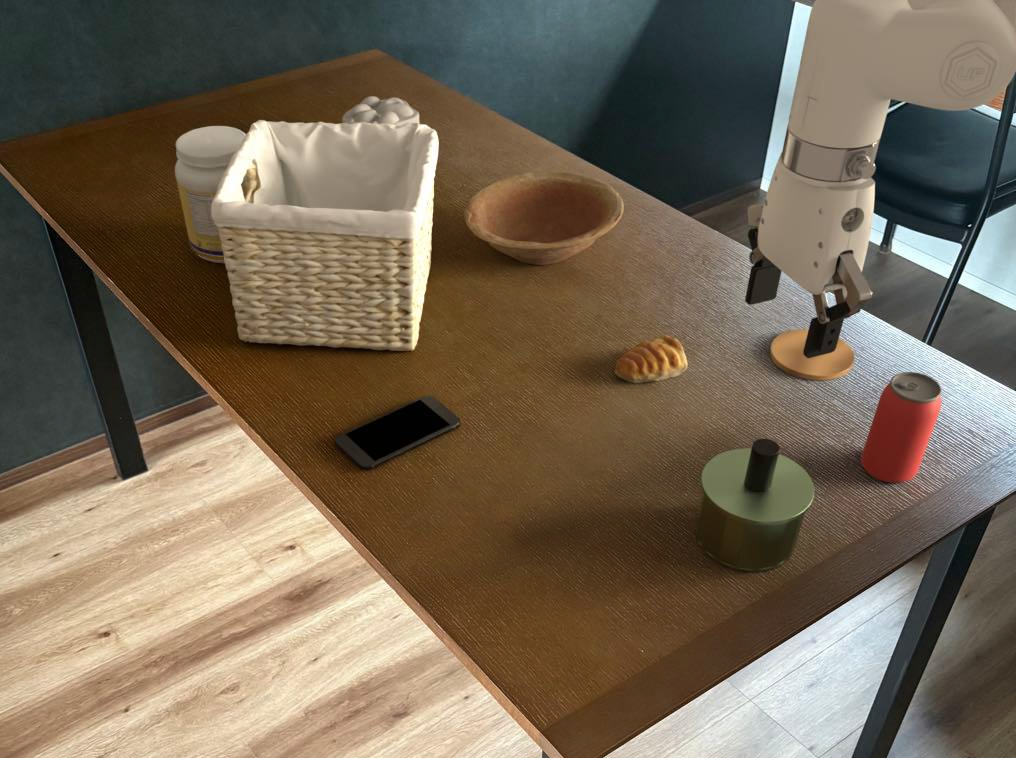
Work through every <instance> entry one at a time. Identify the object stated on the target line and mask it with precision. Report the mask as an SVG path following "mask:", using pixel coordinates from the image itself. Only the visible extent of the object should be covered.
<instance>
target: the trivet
mask: <svg viewBox="0 0 1016 758" xmlns="http://www.w3.org/2000/svg"><path fill="white" fill-rule="evenodd" d="M808 330H809V328H806V329H805V328H801V329H800V328H799V329H792V330H788V331H785V332H782V333H780V334H779V335H777V336H776V337H775V338H774V339H773V340H772V342H771V345H770V347H769V355H770V358H771V360H772V362H773V363H774V364H775V366H776V367H778V368H779V369H780V370H782V371H784V372H785V373H786V374H789V375H791V376H794V377H796V378H800V379H803V380H804V379H805V380H810V381H831V380H835V379H839V378H841V377H844V376H846V375H847V374H848V373H849V372H850V371H851V369H852V368H853V366H854V363H855V353H854V350H853V349H852V347H851V346H850V345H849V344H848V343H847V342H846V341H844V340H843V339H841V338H840V337H839V339H838V343H837V346H836V349H835V351H833V352H832V353H828V354H824V355H820V356H816V357H812V358H807V357H806V356H805V355H804V354H803V351H804V346H805V342H806V338H807V334H808Z"/></svg>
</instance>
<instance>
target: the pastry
mask: <svg viewBox="0 0 1016 758" xmlns="http://www.w3.org/2000/svg"><path fill="white" fill-rule="evenodd" d="M615 365H616V366H615V370H614V374H615V375H617V376H618V377H619V378H620V379H622V380H624V381H626V382H629V383H633V384H636V383H638V384H642V383H653V382H655V383H656V382H660V381H664V380H668V379H669V378H675V377H678V376H680V375H682V374H683V373H684V372H685V371H686V370H687V369H688V367H689V365H688V360H687V356H686V354H685V351H684V347H683V345H682V344H681V342H680V341H679V339H677V338H676V337H674V336H669V335H668V334H664V335H662V336H660V337H657V338H654V339H653V338H652V339H648V340H643V341H640V342H639V343H638V344H636V345H635V346H633V347H631V348H630V349H629V350H628V351H627V352H625V353H624V354H622V356H621V357H619V359H617V361H616V364H615Z"/></svg>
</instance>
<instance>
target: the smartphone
mask: <svg viewBox="0 0 1016 758" xmlns="http://www.w3.org/2000/svg"><path fill="white" fill-rule="evenodd" d="M460 426H461V419H460V417H458V416H457V415H456V414H455V413H454V412H453V411H451V410H450V409H449V408H447V406H445V405H444V404H443V403H442V402H441V401H439V400H438V399H436V397H434V396H432V395H423V396H421V397H419V398H416V399H414V400H412V401H410V402H407V403H405V404H403V405H401V406H399V407H397V408H394V409H392V410H390V411H388V412H386V413H383V414H382V415H379V416H377V417H375V418H373V419H370V420H369V421H366V422H364V423H362V424H359V425H357V426H356V427H353V428H351V429H349V430H346V431H344V432H342V433H340V434H338V435H336V437H335V438H334V440H333V442H334V445H335V446H336V447H337V448H338V449H340V451H342V453H344V455H346V456H347V457H348V458H349V459H350V460H351V461H352V462H353V463H355V464H356V466H357V467H359V468H360V469H361V470H363V471H370V470H373V469H375V468H377V467H379V466H381V465H383V464H385V463H387V462H390V461H391V460H393V459H395V458H398V457H400V456H401V455H405V454H406V453H408V452H410V451H412V450H415V449H416V448H419V447H420V446H423V445H425V444H426V443H429V442H431V441H433V440H435V439H437V438H439V437H441V436H444V435H445V434H447V433H449V432H451V431H453V430H455V429H458V427H460Z"/></svg>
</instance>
